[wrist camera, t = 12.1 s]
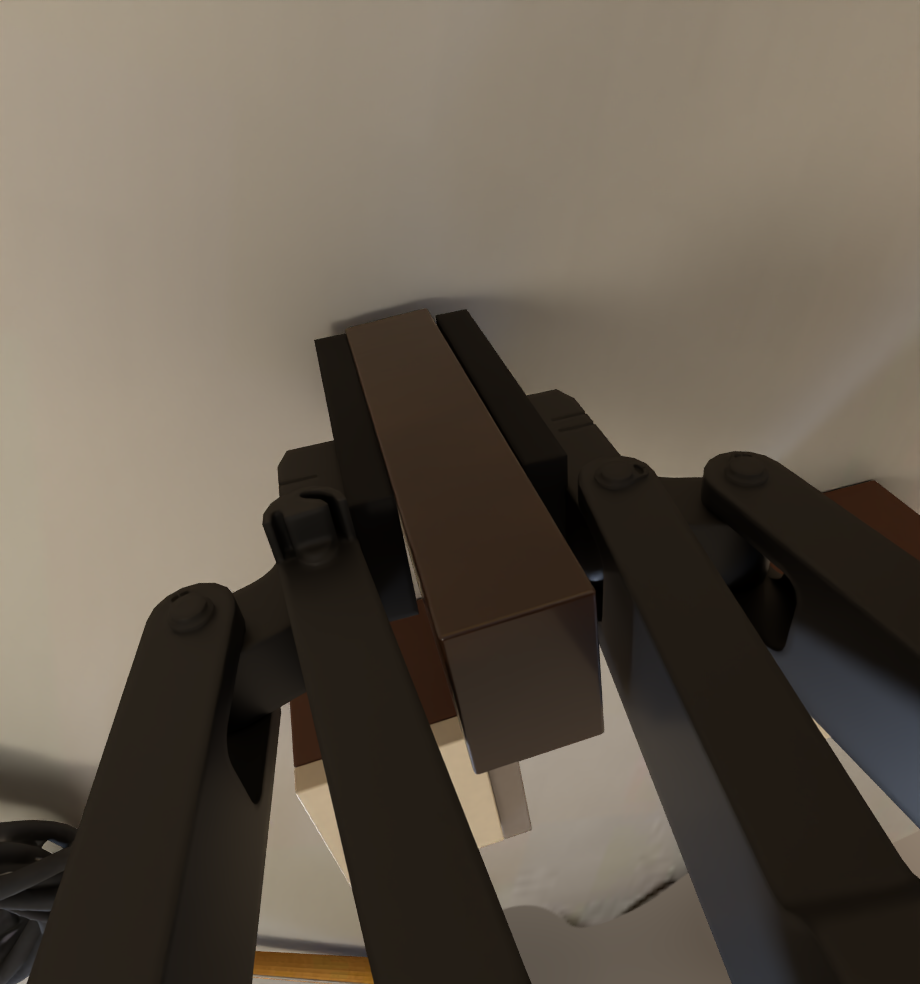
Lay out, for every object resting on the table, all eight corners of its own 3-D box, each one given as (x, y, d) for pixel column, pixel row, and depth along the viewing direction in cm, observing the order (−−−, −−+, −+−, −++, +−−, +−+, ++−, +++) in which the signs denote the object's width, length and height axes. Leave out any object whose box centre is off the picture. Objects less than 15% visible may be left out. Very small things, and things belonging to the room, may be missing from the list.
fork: (440, 983, 37) (61, 967, 26) (420, 1008, 38) (35, 1003, 26) (423, 939, 40) (64, 907, 28) (404, 963, 40) (41, 942, 28)
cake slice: (434, 594, 23) (478, 734, 18) (462, 701, 26) (505, 840, 22) (285, 638, 22) (294, 794, 18) (334, 742, 26) (353, 892, 22)
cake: (874, 479, 25) (1006, 581, 21) (836, 595, 29) (942, 703, 24) (722, 518, 24) (827, 633, 20) (703, 632, 28) (788, 751, 23)
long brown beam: (426, 306, 16) (597, 590, 8) (510, 727, 26) (623, 1036, 18) (343, 327, 16) (436, 639, 8) (460, 743, 26) (553, 1063, 18)
